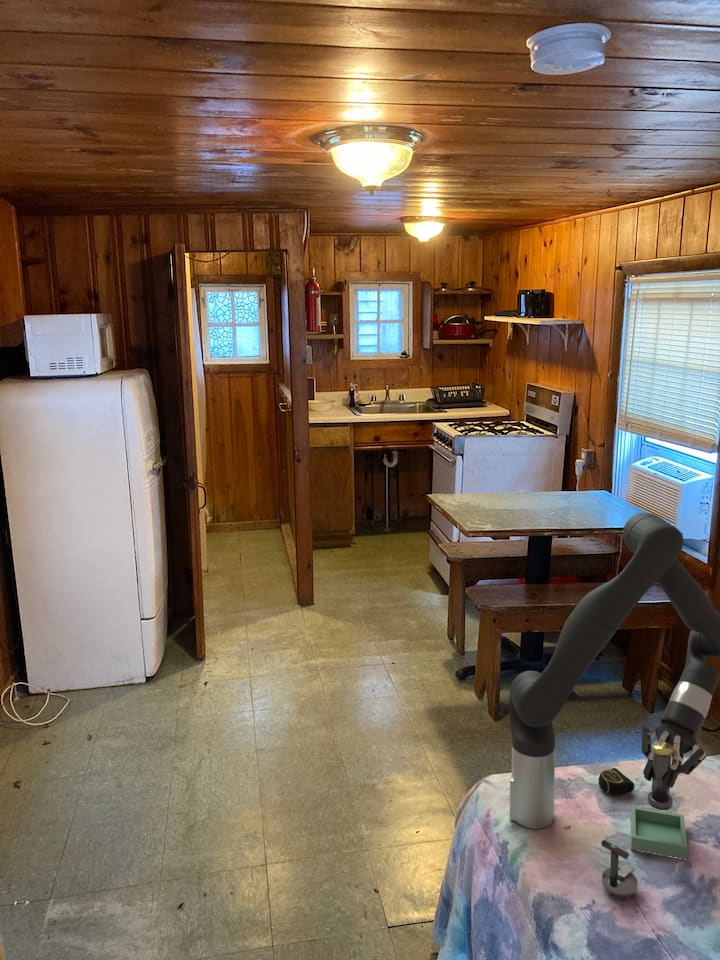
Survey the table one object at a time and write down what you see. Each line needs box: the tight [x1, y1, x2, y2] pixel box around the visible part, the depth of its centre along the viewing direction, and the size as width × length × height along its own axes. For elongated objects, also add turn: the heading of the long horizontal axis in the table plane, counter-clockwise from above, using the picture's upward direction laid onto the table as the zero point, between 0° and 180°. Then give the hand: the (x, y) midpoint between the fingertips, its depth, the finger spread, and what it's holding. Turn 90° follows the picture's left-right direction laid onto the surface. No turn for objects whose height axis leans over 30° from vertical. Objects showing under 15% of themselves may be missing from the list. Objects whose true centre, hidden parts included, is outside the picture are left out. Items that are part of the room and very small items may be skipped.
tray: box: [630, 806, 688, 860], centre depth 156 cm, size 11×11×3 cm
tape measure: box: [598, 767, 635, 797], centre depth 173 cm, size 7×7×4 cm
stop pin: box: [647, 740, 674, 811], centre depth 153 cm, size 5×5×13 cm
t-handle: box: [600, 839, 639, 900], centre depth 141 cm, size 7×6×11 cm
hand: (656, 783), depth 152 cm, fingers closed on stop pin, 3 cm apart
